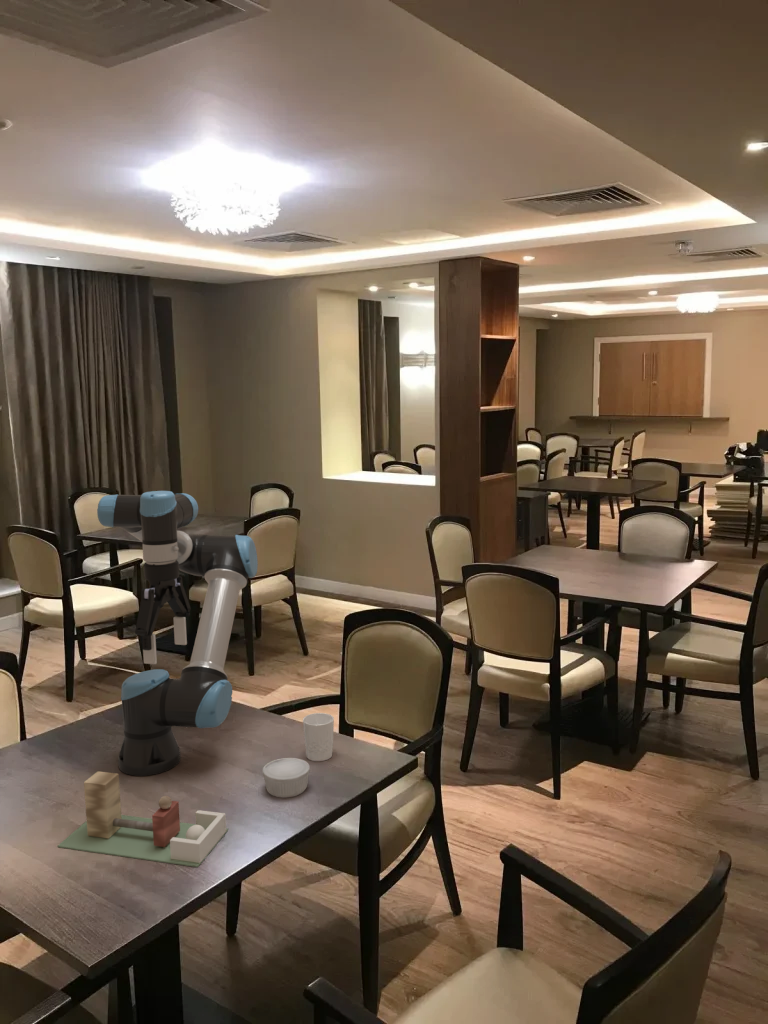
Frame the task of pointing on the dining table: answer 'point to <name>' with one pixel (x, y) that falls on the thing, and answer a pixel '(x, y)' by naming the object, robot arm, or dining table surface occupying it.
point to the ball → (194, 832)
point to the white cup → (318, 736)
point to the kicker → (107, 811)
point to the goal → (200, 838)
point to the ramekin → (286, 777)
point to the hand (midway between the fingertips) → (166, 653)
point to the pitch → (128, 843)
